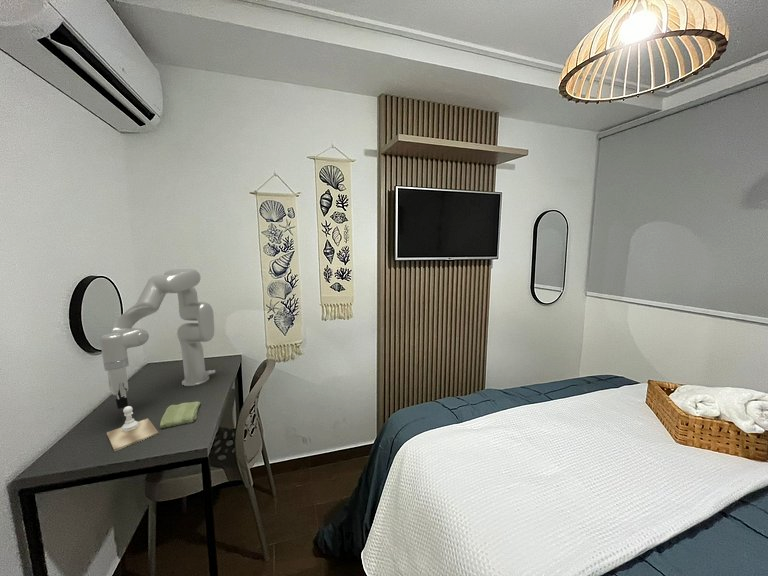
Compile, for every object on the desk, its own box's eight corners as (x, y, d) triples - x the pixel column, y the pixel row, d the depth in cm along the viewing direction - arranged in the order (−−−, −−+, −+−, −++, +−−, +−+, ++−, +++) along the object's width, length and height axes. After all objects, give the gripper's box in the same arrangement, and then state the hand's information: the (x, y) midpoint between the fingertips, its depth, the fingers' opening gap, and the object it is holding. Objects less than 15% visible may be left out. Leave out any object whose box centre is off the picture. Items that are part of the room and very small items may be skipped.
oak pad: (148, 420, 130) (147, 418, 130) (158, 434, 120) (158, 432, 120) (106, 434, 121) (106, 432, 121) (114, 451, 110) (114, 449, 110)
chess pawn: (128, 433, 120) (125, 410, 119) (118, 431, 121) (115, 409, 120) (141, 425, 125) (138, 404, 124) (132, 424, 126) (129, 402, 125)
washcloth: (201, 404, 144) (200, 397, 143) (195, 423, 127) (195, 416, 127) (167, 410, 138) (166, 403, 138) (156, 431, 122) (155, 424, 122)
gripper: (101, 362, 129) (107, 405, 132) (107, 371, 119) (114, 417, 122) (124, 357, 135) (130, 398, 137) (132, 365, 125) (138, 409, 127)
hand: (122, 407), depth 129 cm, fingers closed
